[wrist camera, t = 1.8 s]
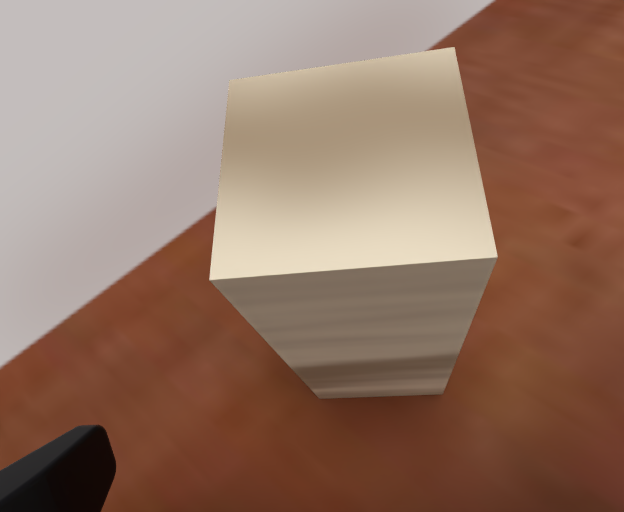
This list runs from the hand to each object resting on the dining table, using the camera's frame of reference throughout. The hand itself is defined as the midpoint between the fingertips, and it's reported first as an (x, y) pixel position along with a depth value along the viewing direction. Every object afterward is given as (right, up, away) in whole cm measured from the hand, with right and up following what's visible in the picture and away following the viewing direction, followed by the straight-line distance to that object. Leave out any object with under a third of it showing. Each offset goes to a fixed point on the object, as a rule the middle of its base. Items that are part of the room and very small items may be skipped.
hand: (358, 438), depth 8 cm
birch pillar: (+2, -1, +13) cm, 13 cm away
